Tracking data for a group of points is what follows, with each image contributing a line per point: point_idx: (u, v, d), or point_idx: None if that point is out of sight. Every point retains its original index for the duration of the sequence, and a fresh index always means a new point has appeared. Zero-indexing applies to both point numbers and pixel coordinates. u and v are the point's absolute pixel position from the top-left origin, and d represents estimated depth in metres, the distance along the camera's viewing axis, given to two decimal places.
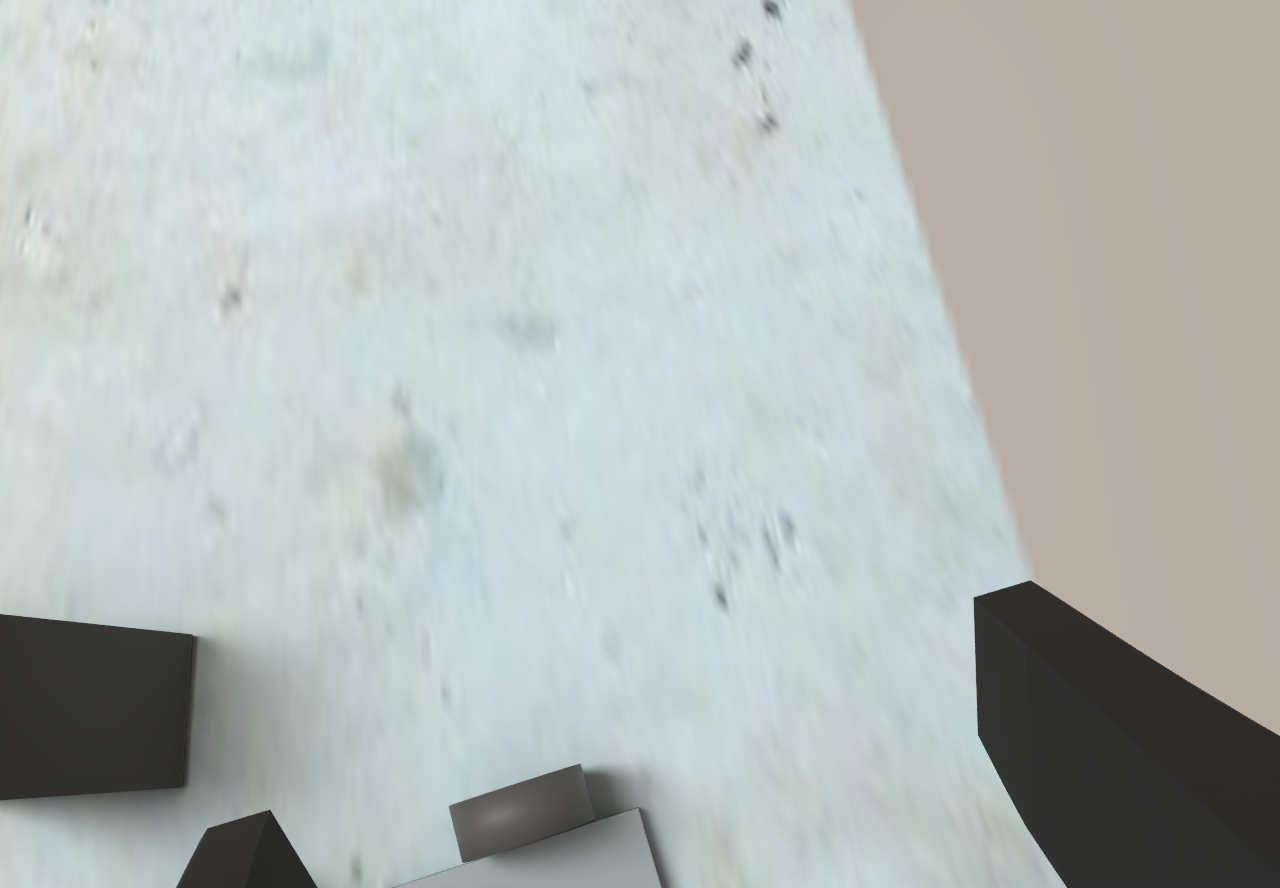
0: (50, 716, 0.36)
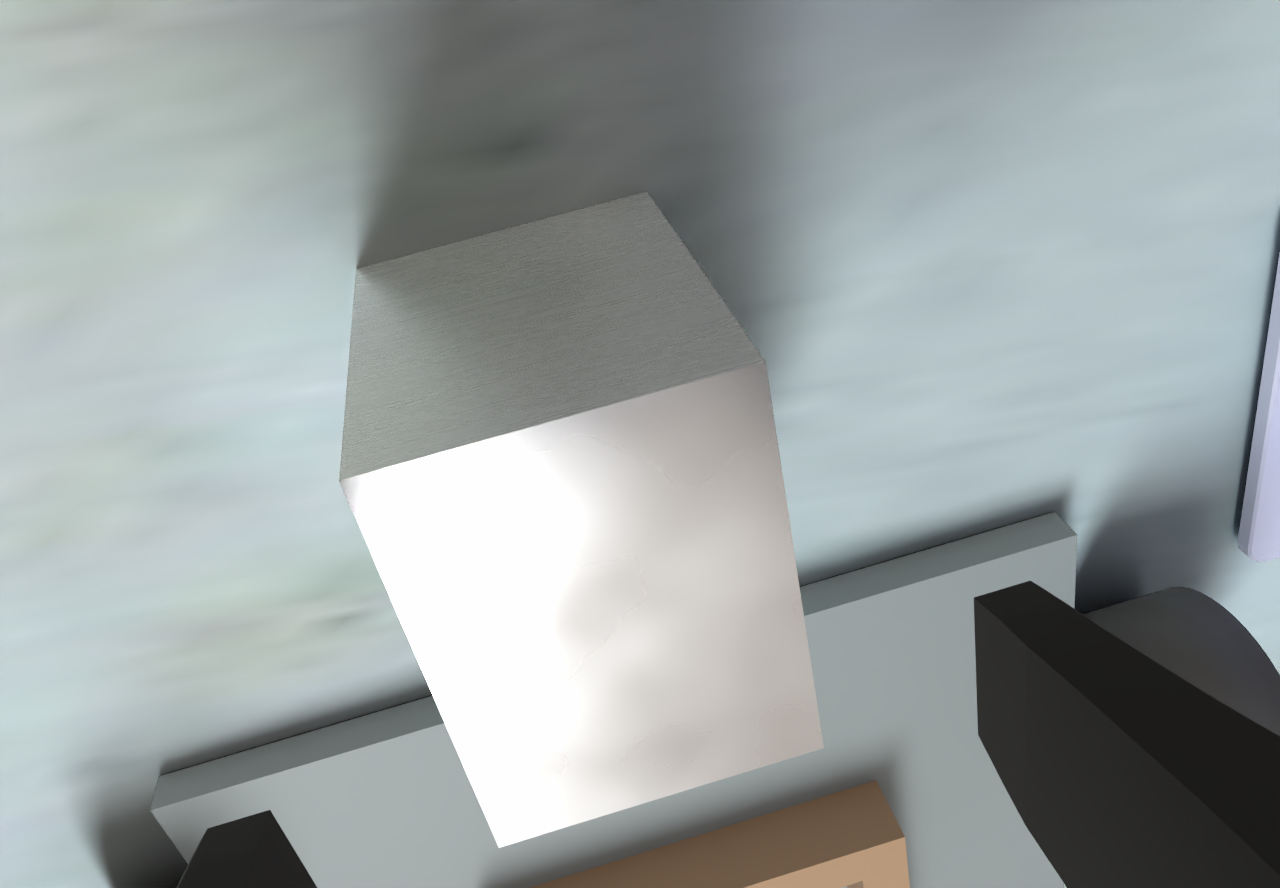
0: None
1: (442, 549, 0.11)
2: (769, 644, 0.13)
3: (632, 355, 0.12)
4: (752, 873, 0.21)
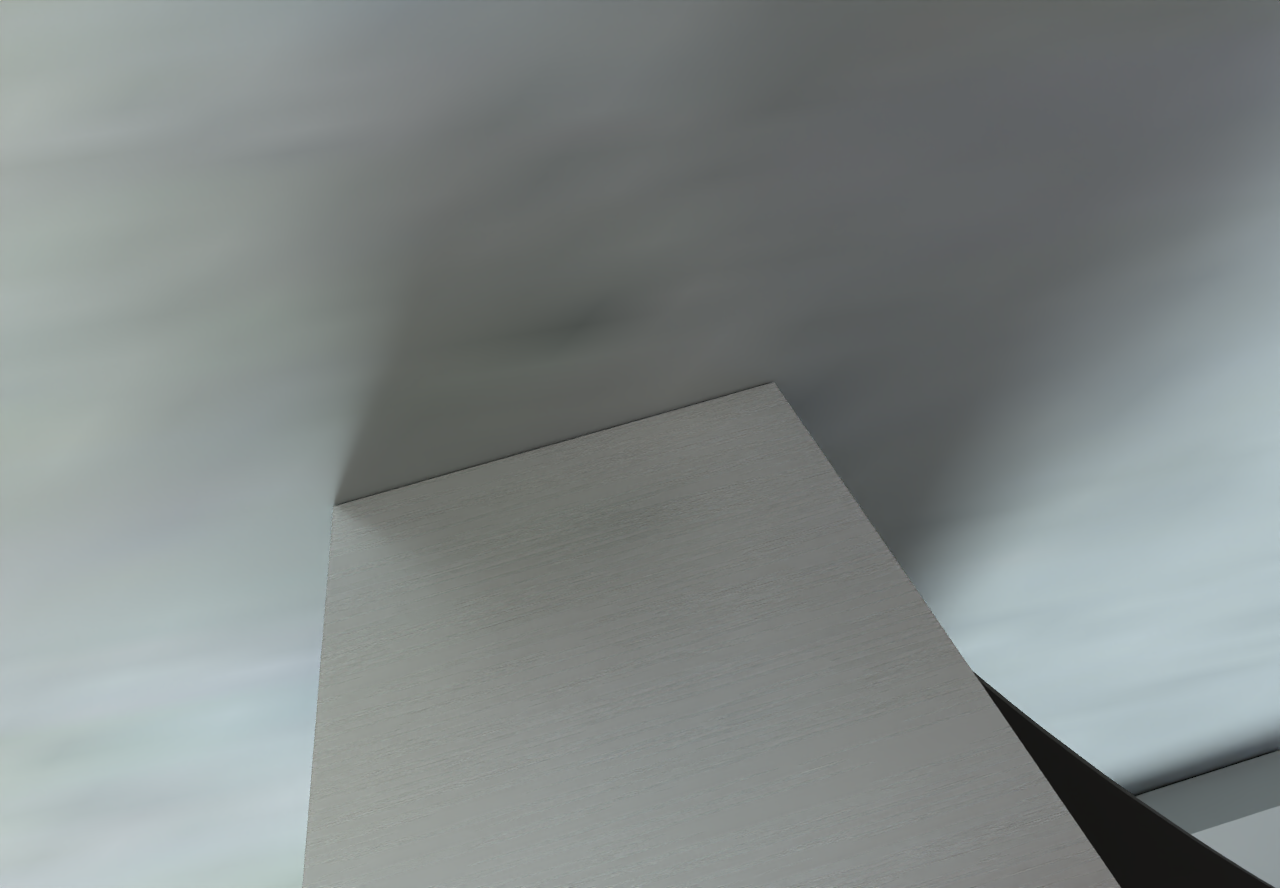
0: None
1: None
2: None
3: (842, 834, 0.06)
4: None
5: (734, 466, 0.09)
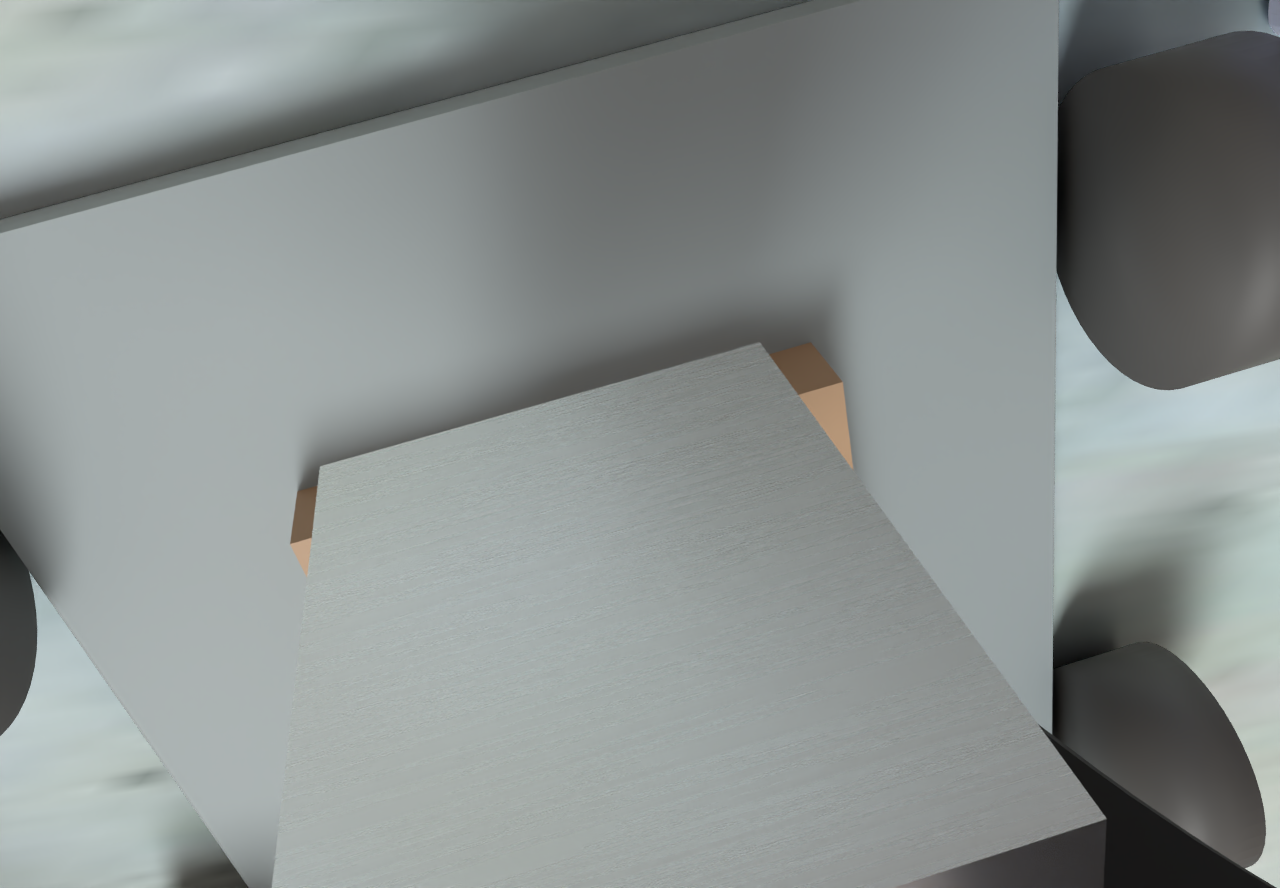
0: None
1: None
2: None
3: (818, 756, 0.06)
4: None
5: (718, 420, 0.09)
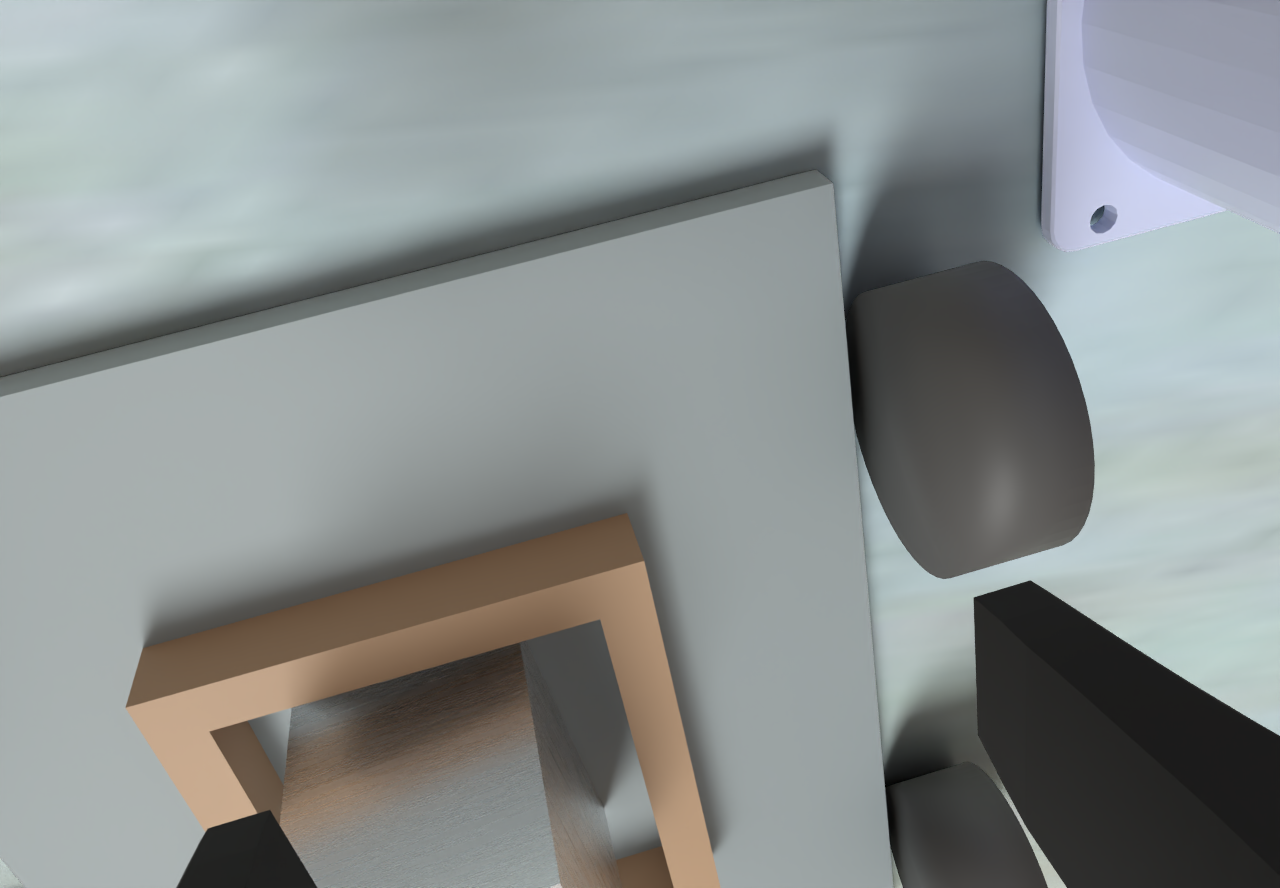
0: None
1: None
2: None
3: (474, 860, 0.16)
4: (463, 602, 0.18)
5: (482, 674, 0.19)
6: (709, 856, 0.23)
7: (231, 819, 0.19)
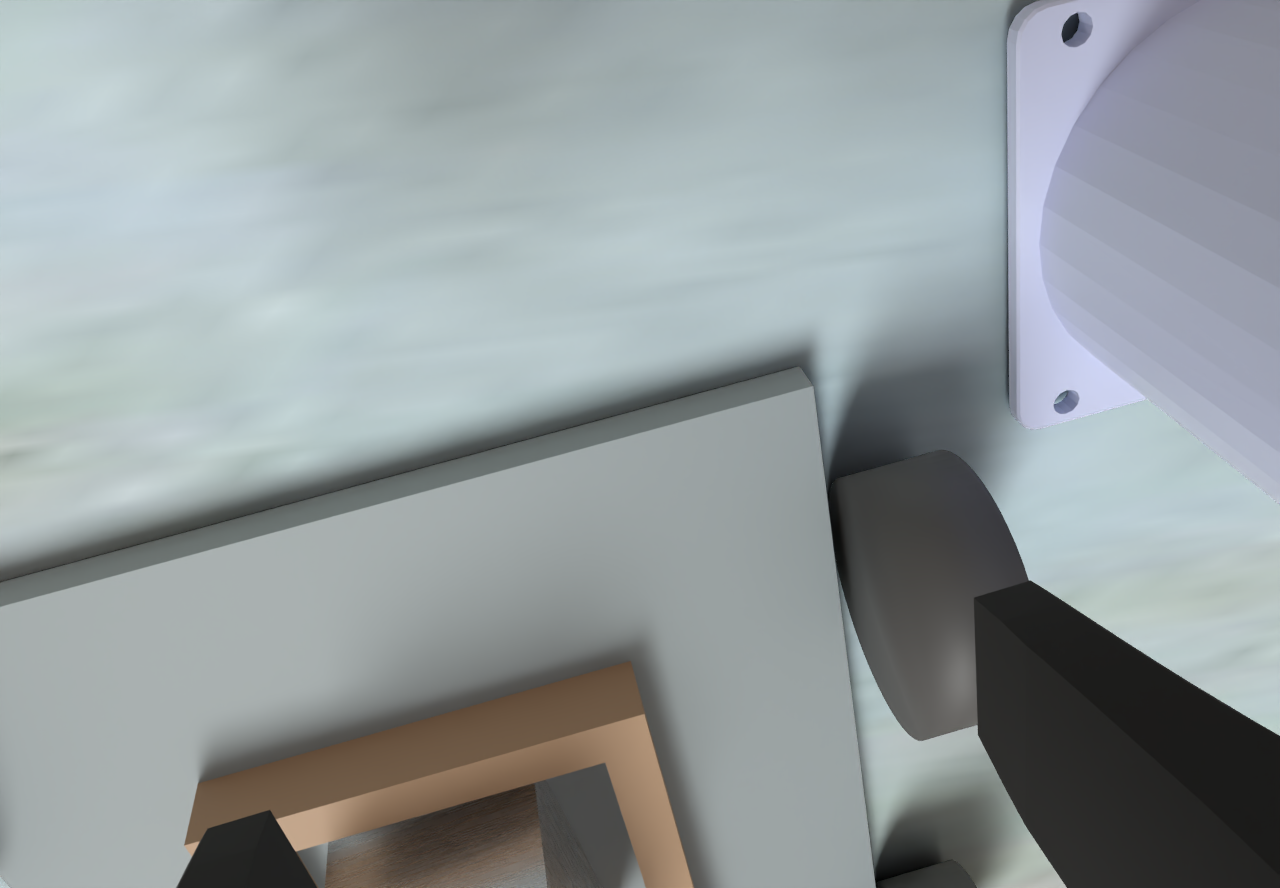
0: None
1: None
2: None
3: None
4: (482, 750, 0.20)
5: (499, 807, 0.21)
6: None
7: None
